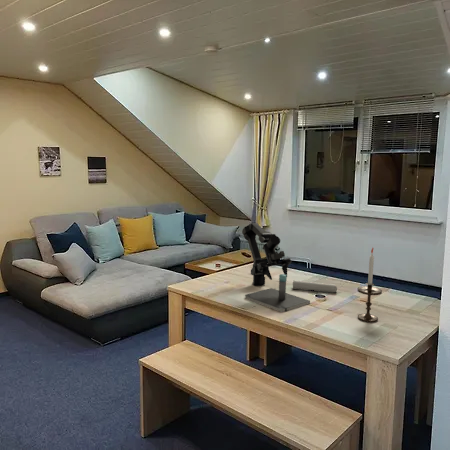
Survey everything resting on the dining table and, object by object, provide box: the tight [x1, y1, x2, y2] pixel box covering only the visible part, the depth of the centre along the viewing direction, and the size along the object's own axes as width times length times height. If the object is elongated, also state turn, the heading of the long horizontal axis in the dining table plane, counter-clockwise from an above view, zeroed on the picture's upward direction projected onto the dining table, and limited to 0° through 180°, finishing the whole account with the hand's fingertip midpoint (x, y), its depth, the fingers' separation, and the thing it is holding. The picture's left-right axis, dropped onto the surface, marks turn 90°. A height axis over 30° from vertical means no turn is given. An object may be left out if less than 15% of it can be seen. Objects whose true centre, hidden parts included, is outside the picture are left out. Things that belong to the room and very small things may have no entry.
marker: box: [278, 273, 288, 300], centre depth 220 cm, size 4×4×13 cm
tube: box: [292, 279, 338, 294], centre depth 243 cm, size 5×5×25 cm
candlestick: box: [356, 247, 383, 323], centre depth 197 cm, size 11×11×35 cm
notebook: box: [244, 287, 311, 313], centre depth 224 cm, size 22×2×28 cm
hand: (279, 278), depth 229 cm, fingers open, 9 cm apart
